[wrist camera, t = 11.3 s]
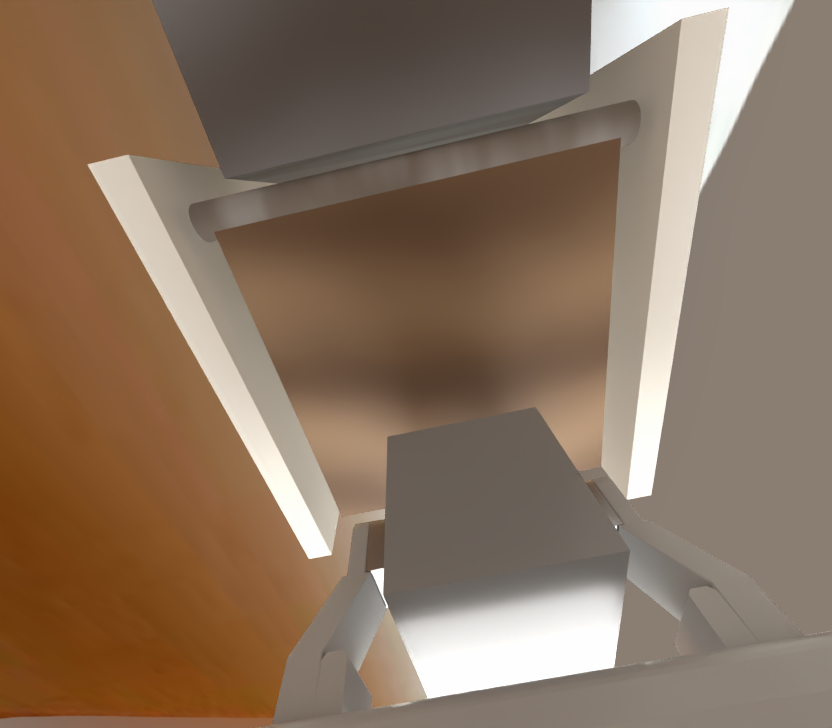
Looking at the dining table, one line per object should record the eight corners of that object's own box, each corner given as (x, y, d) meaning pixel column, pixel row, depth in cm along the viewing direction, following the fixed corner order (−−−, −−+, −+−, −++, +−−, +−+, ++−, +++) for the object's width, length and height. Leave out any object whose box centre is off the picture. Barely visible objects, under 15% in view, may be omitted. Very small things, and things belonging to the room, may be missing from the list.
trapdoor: (211, 61, 14) (64, -46, 8) (541, -23, 14) (667, -211, 7) (349, 431, 23) (332, 520, 17) (551, 390, 23) (612, 466, 16)
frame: (255, 160, 21) (58, 112, 9) (530, 94, 21) (739, -60, 8) (348, 418, 31) (316, 572, 18) (542, 378, 30) (648, 511, 17)
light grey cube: (387, 436, 11) (382, 595, 7) (535, 406, 11) (630, 550, 7) (417, 532, 14) (428, 698, 9) (540, 509, 13) (613, 667, 9)
